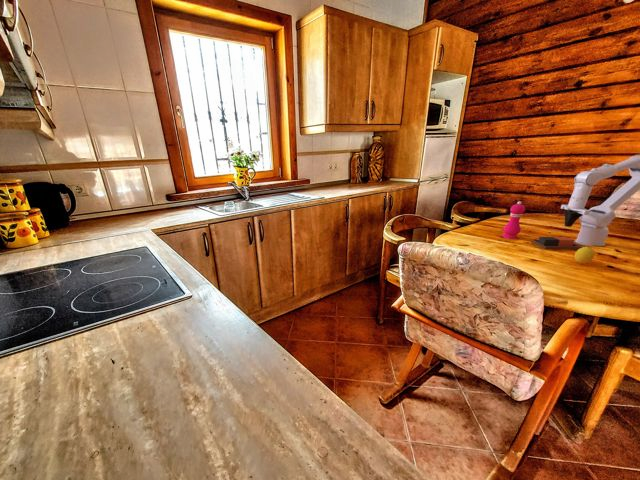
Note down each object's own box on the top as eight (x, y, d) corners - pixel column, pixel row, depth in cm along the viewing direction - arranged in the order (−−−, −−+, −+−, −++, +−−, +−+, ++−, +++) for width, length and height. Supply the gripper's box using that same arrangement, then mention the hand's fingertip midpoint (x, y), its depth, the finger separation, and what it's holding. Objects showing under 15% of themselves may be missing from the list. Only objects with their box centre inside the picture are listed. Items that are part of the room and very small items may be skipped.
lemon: (582, 261, 119) (589, 244, 116) (593, 267, 114) (601, 249, 111) (567, 262, 120) (574, 244, 117) (579, 267, 115) (586, 249, 111)
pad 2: (564, 244, 137) (567, 236, 135) (571, 247, 133) (574, 239, 131) (551, 244, 138) (553, 236, 136) (557, 247, 134) (560, 239, 132)
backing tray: (565, 243, 139) (566, 239, 138) (581, 250, 130) (582, 246, 129) (531, 243, 142) (532, 239, 141) (544, 250, 133) (545, 246, 132)
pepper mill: (518, 240, 146) (529, 202, 138) (501, 239, 150) (511, 202, 142) (517, 236, 152) (527, 200, 144) (501, 235, 156) (510, 199, 148)
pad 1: (550, 244, 138) (553, 236, 136) (556, 247, 134) (559, 239, 132) (536, 244, 139) (539, 236, 137) (542, 247, 135) (545, 239, 133)
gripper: (558, 195, 137) (548, 222, 142) (581, 200, 124) (569, 230, 129) (574, 195, 136) (564, 222, 141) (599, 201, 122) (587, 230, 128)
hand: (567, 226), depth 135 cm, fingers closed
